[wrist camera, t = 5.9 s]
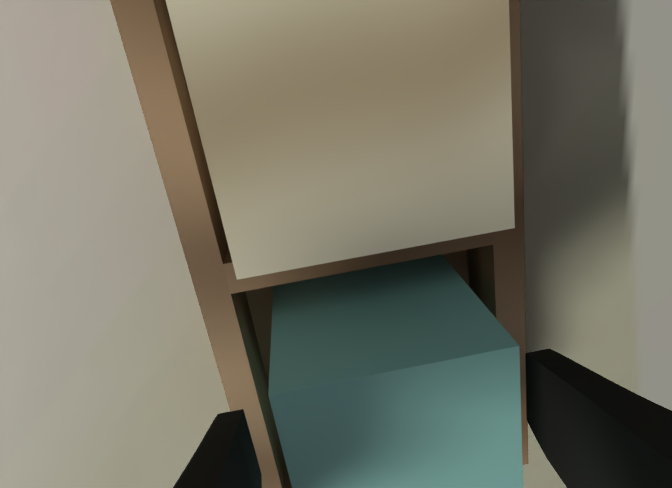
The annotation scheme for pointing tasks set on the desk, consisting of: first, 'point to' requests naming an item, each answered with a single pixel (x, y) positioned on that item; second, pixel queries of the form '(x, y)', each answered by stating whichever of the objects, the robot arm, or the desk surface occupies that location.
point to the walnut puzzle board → (256, 293)
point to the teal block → (394, 381)
